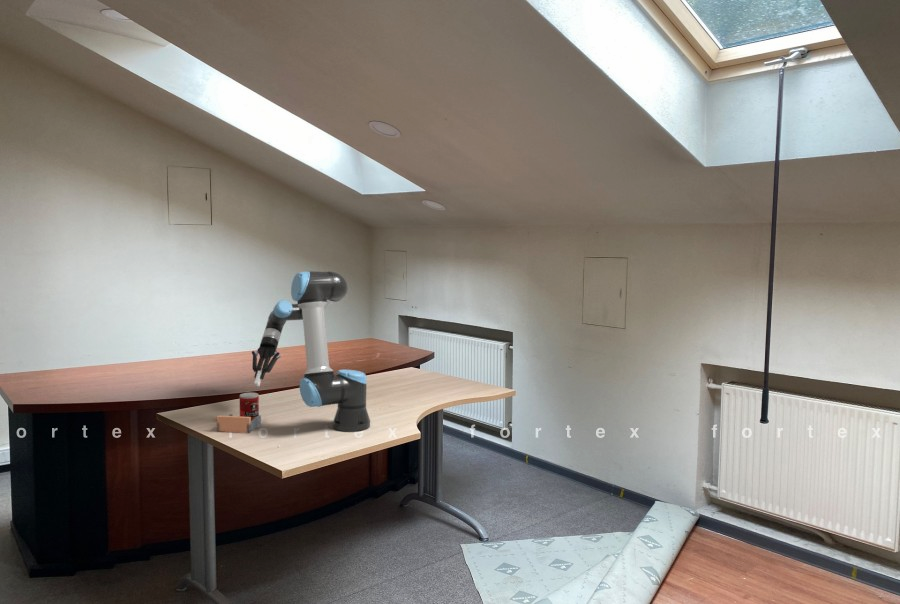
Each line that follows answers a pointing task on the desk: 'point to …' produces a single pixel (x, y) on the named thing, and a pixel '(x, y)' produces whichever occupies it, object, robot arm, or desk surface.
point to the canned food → (249, 405)
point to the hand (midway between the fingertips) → (256, 384)
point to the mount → (237, 423)
